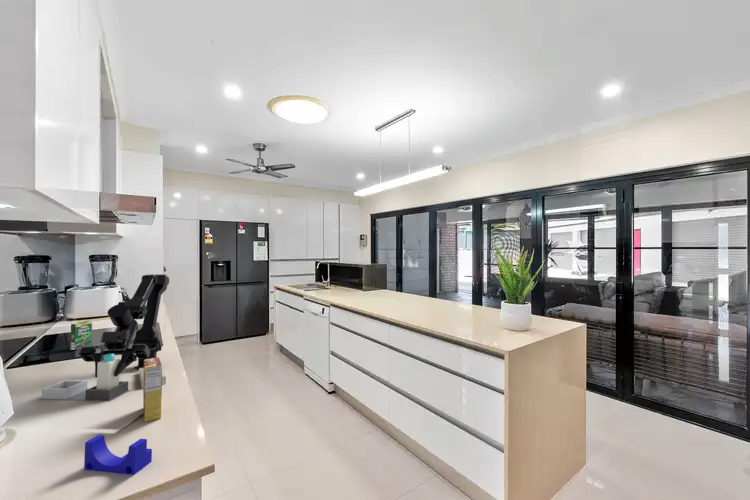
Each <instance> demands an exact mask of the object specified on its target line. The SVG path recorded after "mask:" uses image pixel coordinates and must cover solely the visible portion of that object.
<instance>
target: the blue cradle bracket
mask: <svg viewBox="0 0 750 500" xmlns="http://www.w3.org/2000/svg"><path fill="white" fill-rule="evenodd" d="M147 447H148V439H147V438H140V439H138V440H136V441H135V442H133V443H132V444H130V445H129V446H128V449H127V450H128V451H127V453H126V454H125V455H122V456H117V455H115V454H114V453H112V451H111V450H110V449H109V448H108V446H107V443H106V439H105V435H104V434H97V435H95V436H94V437H92V438H90V439H88V440H87V441H85V442H84V460H83V462H84V463H83V464H84V465H83V470H85V471H94V472H103V473H104V472H105V473H114V474H121V475H122V474H123V475H133V476H134V475H136V474H137V473H139V472H140V471H141V470H143V469H144V468H145V467H146V466H148V465H150V464H151V463H152V462H153V461H152V460H153V459H152V457H153V455H152V454H153V449H152V448H147Z"/></svg>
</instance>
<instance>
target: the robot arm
mask: <svg viewBox="0 0 750 500" xmlns="http://www.w3.org/2000/svg"><path fill="white" fill-rule="evenodd" d="M169 284H170V277H169V276H167V274H153V273H152V274H144V275H142V276H141V282H140V283H139V285H138V286H137V288H136V290H135V292H134V294H133V295H132V297H131V298H130V299H129V300H126V301H119V302H118V303H117V304H114V305H113V306H111V307H110V308H109V309H108V310H107V316H108V317H109V320H110V321H111V322H112V323H111V324H113V326H115V327H116V329H115V330H114V331H103V332H102V336H101V339H100V343H103V346H104V348H106V349H102V348H99V347H98V345H92V346H84V347H82V348H81V350H78V355H79V356H80V357H81V359H82V360H83V361H84V362H88V363H90V362H94V366H95V367H94V377H95V378H96V379H97V366H98V362H101V361H103V360H104V355H105V354H111V353H113V354H114V356H121V357H120V362H119V364H118V366H117V368H116V371H115V374H114V376H115V377H116V376H118V375H119V376H120V374H121V373H122V372H123V371H124V370H125V369H126V368H127V367H129V365H131V364H132V363H133V362H136V361H137V365H135V366H134V369H139V368H144V360H146V359H152V358H158V357H157V352H160V351H162V347H163V344H162V341H161V339H160V337H159V336H160V333H159V332H158V330H157V320H158V316H159V315H158V314H159V309H160V304H161V298H162V295H163V293H165V291H167V289H168V285H169ZM142 319H143V321H142V327H141V328H139V326H138V325H139V323H138V321H137V320H142ZM134 335H135V337H134ZM133 337H134V338H133ZM131 344H132V346H131V348H130V345H131Z"/></svg>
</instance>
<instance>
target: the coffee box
mask: <svg viewBox="0 0 750 500" xmlns="http://www.w3.org/2000/svg"><path fill="white" fill-rule="evenodd" d="M92 338H93V321H92V320H86V321H81V322H76V323H70V349H69V350H70V351H71V350H77V349H81V348H82V347H84V346H93V345H92V344H93V341H92Z"/></svg>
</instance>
